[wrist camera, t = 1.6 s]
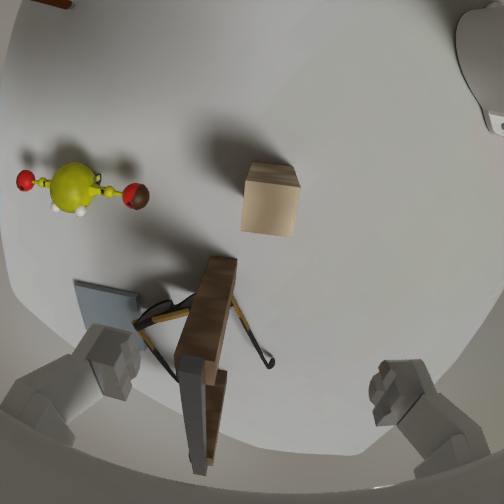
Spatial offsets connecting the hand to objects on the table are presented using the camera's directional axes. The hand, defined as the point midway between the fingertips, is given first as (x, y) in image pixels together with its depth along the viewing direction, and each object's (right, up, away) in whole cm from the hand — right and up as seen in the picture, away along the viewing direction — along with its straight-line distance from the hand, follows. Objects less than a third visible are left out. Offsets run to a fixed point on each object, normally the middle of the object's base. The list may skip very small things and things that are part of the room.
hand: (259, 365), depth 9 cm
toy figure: (-18, +12, +21) cm, 30 cm away
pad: (-21, -6, +30) cm, 37 cm away
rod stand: (-5, -7, +29) cm, 31 cm away
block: (+2, +10, +20) cm, 23 cm away
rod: (-6, -14, +16) cm, 22 cm away
